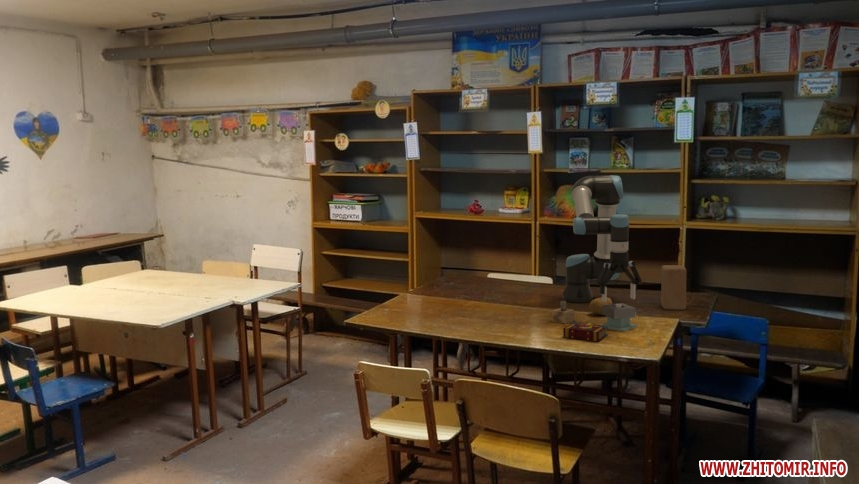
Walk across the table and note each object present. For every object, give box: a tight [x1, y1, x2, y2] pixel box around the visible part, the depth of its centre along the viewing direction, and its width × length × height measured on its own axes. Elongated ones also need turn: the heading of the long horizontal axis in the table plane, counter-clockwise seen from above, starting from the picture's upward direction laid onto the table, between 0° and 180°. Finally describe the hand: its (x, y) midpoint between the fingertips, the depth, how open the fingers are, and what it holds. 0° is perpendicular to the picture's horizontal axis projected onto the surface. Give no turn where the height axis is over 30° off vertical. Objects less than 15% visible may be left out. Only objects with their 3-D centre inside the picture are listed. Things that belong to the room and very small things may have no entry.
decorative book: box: [562, 321, 609, 343], centre depth 269 cm, size 11×16×5 cm
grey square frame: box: [602, 302, 636, 319], centre depth 282 cm, size 10×10×4 cm
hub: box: [601, 303, 638, 333], centre depth 282 cm, size 11×11×10 cm
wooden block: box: [660, 264, 687, 311], centre depth 315 cm, size 10×10×20 cm
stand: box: [551, 300, 575, 325], centre depth 295 cm, size 7×7×9 cm
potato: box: [589, 296, 613, 316], centre depth 306 cm, size 10×14×8 cm
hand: (618, 300), depth 282 cm, fingers open, 13 cm apart
